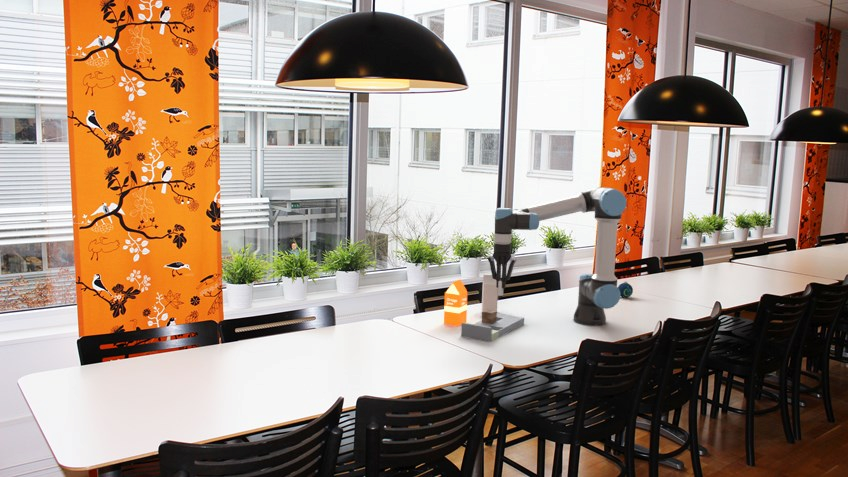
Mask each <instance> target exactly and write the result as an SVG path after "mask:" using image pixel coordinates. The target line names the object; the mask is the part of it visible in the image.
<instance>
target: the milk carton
mask: <svg viewBox="0 0 848 477" xmlns="http://www.w3.org/2000/svg"><path fill="white" fill-rule="evenodd" d="M496 282H497V281H496V280H495V279H493V278H492V274H483V277H482V288H481V290H482V293H481V294H482V295H481V312H482V311H484V310H494V311H497V312H498V299H499V298H498V297H499V296H498V288H497V287H496Z"/></svg>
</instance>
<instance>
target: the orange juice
mask: <svg viewBox="0 0 848 477" xmlns="http://www.w3.org/2000/svg"><path fill="white" fill-rule="evenodd" d="M443 308H444V309H443V310H444V311H443V316H444V318H443V324H444V325H451V326H456V327H459V326H462V323H467V315H468V313H467V311H468V310H467V309H468V291H467V288H466V287H465V285H464V283H463V281H462V280H461V279H457V280H455V281H452V283H451V284H450V286H449V287H448V288H447V290H446V291H445V292H444V307H443Z"/></svg>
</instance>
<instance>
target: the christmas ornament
mask: <svg viewBox="0 0 848 477" xmlns="http://www.w3.org/2000/svg"><path fill="white" fill-rule="evenodd" d="M617 287H618V289H619V291H620V298H624V299H628V298H630V297H632V295H633V292H634V289H633V286H632V285H631V284H630V283H628V280H624V281H623V282H622V283H620V284H619V285H617Z"/></svg>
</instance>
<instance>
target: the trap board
mask: <svg viewBox="0 0 848 477" xmlns="http://www.w3.org/2000/svg"><path fill="white" fill-rule="evenodd" d="M524 323H525V317H523V316H516V315H512V314H511V315H510V314H504V313H498V312H497V318H496V322H495V323H493V324H488V323H483V322H482V319H481V320H479V321H477V322H475V323H473V324H472V323H467V322H465V323H462V325H461V330H460V331H461V333H460V335H461V336H460V337H462V338H463V337H464V338H468V339H473V340H478V341H483V342H488V343H491V342H493V341H495V340H497V339H499V338H501V337H502V336H504V335H506V334H507V333H510V332H511V331H513V330H515V329H517V328H519V327H521V326H523V325H524Z"/></svg>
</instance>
